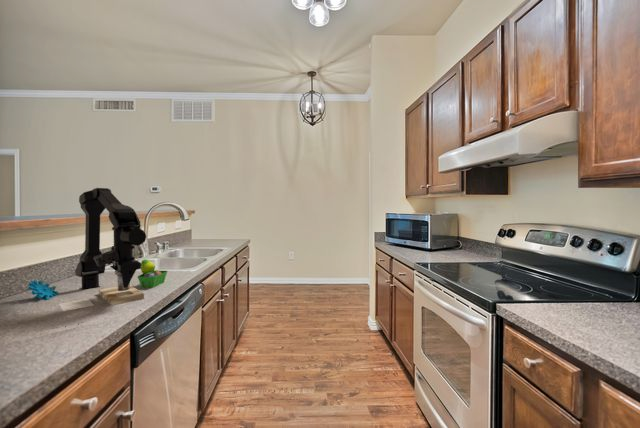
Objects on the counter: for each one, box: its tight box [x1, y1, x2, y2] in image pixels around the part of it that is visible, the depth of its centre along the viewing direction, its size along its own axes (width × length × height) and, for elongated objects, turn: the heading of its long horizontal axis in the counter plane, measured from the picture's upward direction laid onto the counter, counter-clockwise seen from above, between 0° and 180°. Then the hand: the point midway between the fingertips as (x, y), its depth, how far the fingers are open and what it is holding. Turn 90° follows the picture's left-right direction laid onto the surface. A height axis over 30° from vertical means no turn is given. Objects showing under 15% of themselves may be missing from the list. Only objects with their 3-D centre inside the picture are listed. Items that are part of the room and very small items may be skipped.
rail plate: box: [98, 284, 145, 306], centre depth 112 cm, size 18×10×3 cm, turn 47°
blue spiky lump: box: [27, 279, 59, 301], centre depth 110 cm, size 11×6×10 cm
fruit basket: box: [136, 259, 168, 288], centre depth 132 cm, size 11×9×11 cm
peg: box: [114, 270, 131, 291], centre depth 109 cm, size 5×5×7 cm
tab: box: [58, 298, 94, 312], centre depth 102 cm, size 10×8×1 cm
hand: (123, 286), depth 109 cm, fingers closed on peg, 4 cm apart
